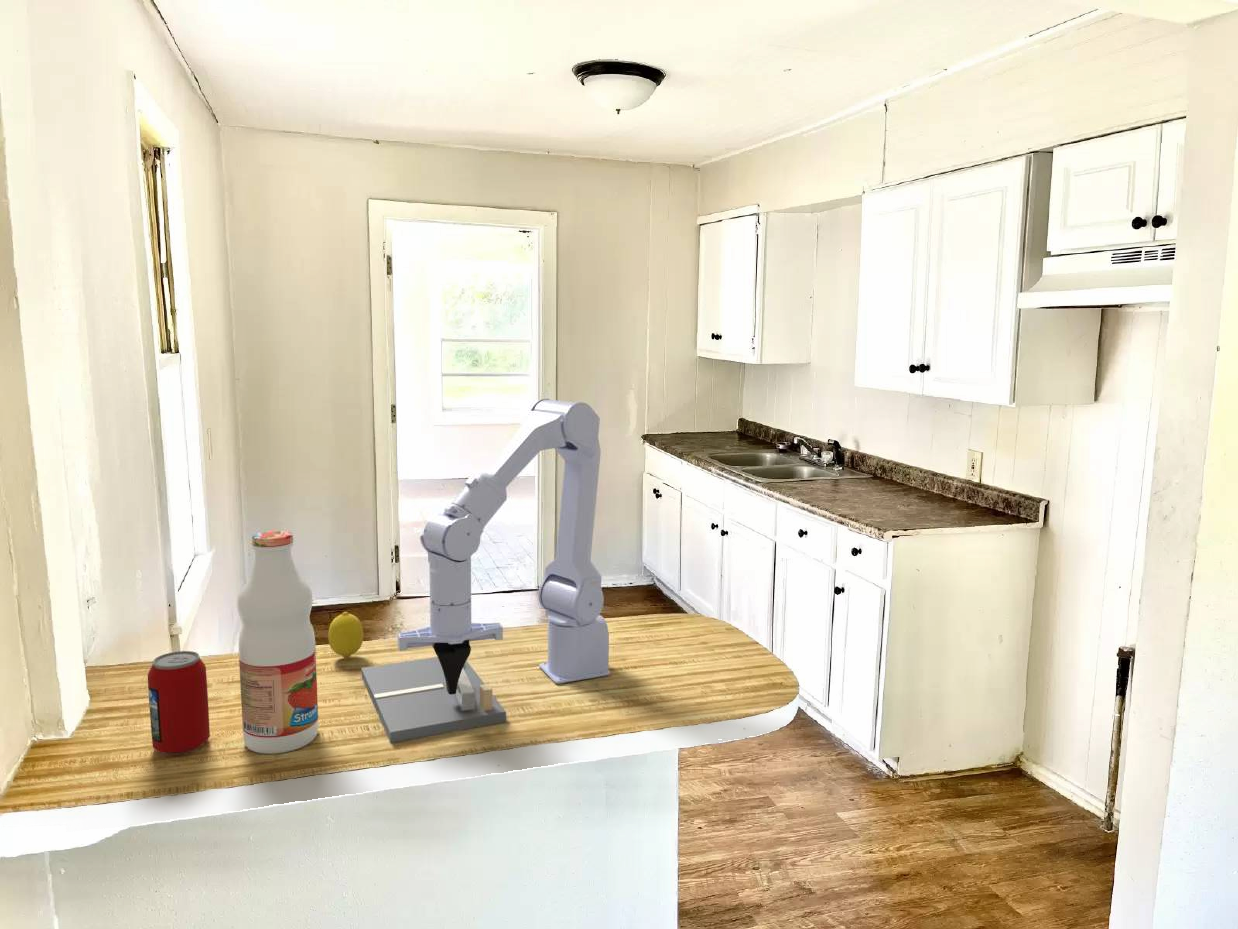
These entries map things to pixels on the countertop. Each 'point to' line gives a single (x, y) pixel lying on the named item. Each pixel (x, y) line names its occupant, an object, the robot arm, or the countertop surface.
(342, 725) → the countertop surface
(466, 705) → the lock bar
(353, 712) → the countertop surface
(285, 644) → the fruit juice
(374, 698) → the plate
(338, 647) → the lemon
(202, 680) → the beverage can
